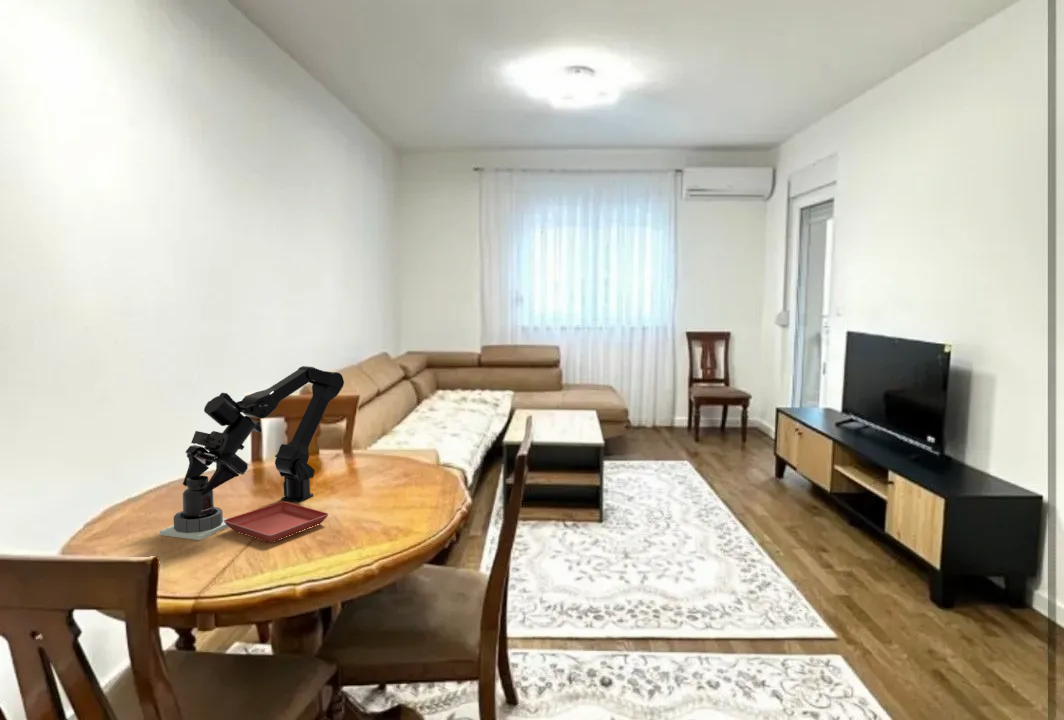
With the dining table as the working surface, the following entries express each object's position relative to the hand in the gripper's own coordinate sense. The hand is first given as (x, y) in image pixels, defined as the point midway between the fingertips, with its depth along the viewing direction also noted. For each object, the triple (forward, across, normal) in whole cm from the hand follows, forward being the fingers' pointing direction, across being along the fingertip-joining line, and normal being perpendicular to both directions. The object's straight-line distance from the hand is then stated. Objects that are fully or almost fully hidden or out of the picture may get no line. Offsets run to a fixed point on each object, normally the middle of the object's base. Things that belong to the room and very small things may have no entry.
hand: (194, 488), depth 160 cm
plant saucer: (0, +16, +16) cm, 22 cm away
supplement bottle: (+6, 0, +7) cm, 10 cm away
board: (+7, 0, +8) cm, 11 cm away
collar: (+7, 0, +8) cm, 11 cm away
